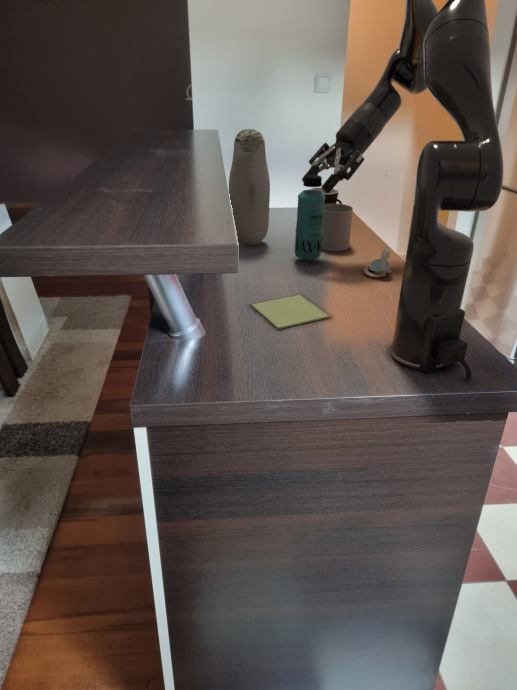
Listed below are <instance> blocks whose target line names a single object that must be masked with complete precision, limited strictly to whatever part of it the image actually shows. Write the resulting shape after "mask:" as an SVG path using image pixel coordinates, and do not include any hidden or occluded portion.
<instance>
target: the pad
mask: <svg viewBox="0 0 517 690" xmlns="http://www.w3.org/2000/svg"><path fill="white" fill-rule="evenodd" d="M251 308H253V309H254V310H256V311H257V312H258V313H259V314H260V315H261V316H262V317H263V318H264V319H265V320H267V321H268V322H269V323H270V324H272V325H273V327H275V328H276V329H277V330H282V329H287V328H290V327H294V326H299V325H303V324H308V323H313V322H317V321H321V320H326V319H329V318H330V315H329V314H327V313H326V312H325V311H323V310H322V309H320V308H319V307H318V306H317V305H315V304H314V303H312V302H311V301H309V300H307V298H305V297H303V296H302V295H301V294H298V295H294V296H293V295H291V296H287V297H283V298H282V297H281V298H278V299H272V300H267V301H261V302H258V303H253V304H251Z"/></svg>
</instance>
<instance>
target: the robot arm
mask: <svg viewBox="0 0 517 690" xmlns="http://www.w3.org/2000/svg"><path fill="white" fill-rule="evenodd" d="M404 2H405V4H404V21H403V26H402V31H401V34H400V40H399V43H398V48H397V49H395V50H394V51H393V52H392V53H391V55H390V56H389V59H388V60H387V64H386V65H385V67H384V71H383V73H382V75H381V76H380V78H379V80H378V82H377V84H376V85H375V87H374V88H373V90H372V91H371V92H370V93H369V95H368V96H367V97H366V98H365V100H364V101H362V103H361V104H360V105H359V106H357V108H355V110H354V111H353V112H352V113H351V115H349V117H348V118H347V119H346V121H345V122H344V123H343V124H342V126H341V127H340V128H339V129H338V131H337V132H336V133H335V142H334V143H333V144H331V146H330V145H329V144H328V143H327V142H324V143H323V144H322V145H321V146H320V147H319V149H318V150H316V152H315V153H314V154H313V156H312V157H310V159H309V160H308V163H309V165H310V168H309V169H308V170H307V172H306V173H305V174H304V175H303V177H301V181H302V182H304V177H305V176H306V175H318V176H319V173H321V172H322V171H324V170H329V169H331V168H332V169H333V173H331V174H330V175H329V177H328V178H327V179H326V180H325V181H324V183H322V186H321V188H322V189H323V190H324V191H325V192H326V193H329V192H330V191H331V190H332V189H335V187H336V186H337V185H338V183H339V182H342V181H344V180H346V181H349V180H350V179H351V178H352V177H353V175H355V173H356V172H357V170H358V169H359V168H360V167H361V166H362V164H363V163H364V161H365V157H364V156H363V155H364V154H365V152H366V151H367V150H368V148H370V146H371V145H372V144H373V143H374V142H375V140H376V139H377V138H378V137H379V135H381V133H382V131H383V130H384V128H385V127H386V125H387V124H388V123H389V121H390V120H391V119H392V118H393V117H394V116H395V114H396V113H397V112H398V111H399V109H400V108H401V106H402V104H403V103H402V101H403V100H402V97H401V95H400V93H399V91H398V90H397V89H396V88H395V87H394V85H393V83H395V84H396V85H398V86H399V87H401V88H402V89H404V90H405V91H406V92H408V93H409V94H411V95H420V94H422V93H424V92H425V91H426V90H427V89H428V91H429V92H430V94H431V96H432V97H433V98H434V100H435V101H436V102H437V103H438V105H439V106H440V107H441V108H442V110H444V111H445V112H446V114H447V115H448V116H449V117H450V118H451V119H452V121H453V122H454V123H455V125H456V127H457V128H458V130H459V132H460V134H461V137H462V140H447V139H445V140H443V139H442V140H437V139H436V140H431V141H430V140H429V141H428V142H427V143H426V144H425V145H423V148H422V149H421V151H420V154H419V157H418V160H417V165H416V171H415V180H414V190H413V200H412V209H411V210H412V211H411V216H410V217H411V218H410V225H409V230H408V231H409V233H408V241H407V246H406V254H405V261H404V267H403V273H402V279H401V286H400V291H399V299H398V305H397V309H396V310H397V311H396V316H395V324H394V329H393V330H394V331H393V337H392V342H391V343H392V344H391V345H390V355H391V357H392V359H394V360H395V361H396V362H397V363H399V364H401V365H403V366H406V367H408V368H411V369H416V370H419V371H421V372H423V373H425V374H426V373H430V372H432V371H433V372H434V371H436V370H440V369H443V368H446V367H449V366H450V367H451V366H453V365H454V364H456V363H460V364H461V366H462V367H463V368H464V370H465V379H466V380H467V381H470V380H471V379H472V369H471V366H470V365H469V364H468V362H467V361H466V360H465V358H466V354H467V351H468V350H467V349H468V346H469V343H468V342H466V341H464V340H462V339H461V338H460V337H461V334H462V330H463V326H464V325H463V324H464V321H465V316H466V311H465V310H464V309H462V304H463V300H464V299H463V298H464V295H465V289H466V284H467V280H468V276H469V272H470V267H471V264H472V263H471V262H472V259H473V254H474V248H475V243H474V240H473V239H472V238H470V237H469V235H466V234H465V233H463V232H460V231H458V230H455V229H452V228H450V227H448V226H446V225H445V224H443V223H442V222H440V220H439V212H464V213H465V212H466V213H467V212H468V213H472V212H485V211H488V210H490V209H492V208H493V207H495V205H496V203H497V202H498V200H499V198H500V196H501V192H502V189H503V183H504V155H503V149H502V148H503V147H502V143H501V137H500V131H499V128H498V127H499V126H498V122H497V116H496V112H495V106H494V100H493V97H494V96H493V88H492V87H493V86H492V72H491V71H492V69H491V68H492V66H491V45H490V34H489V33H490V32H489V25H488V17H487V16H488V15H487V8H486V7H487V6H486V0H447V1H446V2H445V3H444V5H443V6H442V7H441V8H440V10H438V8H437V6H436V4H435V3H434V1H433V0H405V1H404ZM348 169H350V170H349V171H348Z"/></svg>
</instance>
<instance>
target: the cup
mask: <svg viewBox="0 0 517 690" xmlns="http://www.w3.org/2000/svg"><path fill="white" fill-rule="evenodd" d="M353 209H354V208H353V206H351V205H347V204H344V203H342V204H340V203H336V204H324V218H323V221H324V222H323V231H322V238H323V239H322V248H321V250H323V251H327V252H328V251H329V252H342V251H343V252H344V251H346V250H348V249H350V243H351V242H350V241H351V231H352V221H353V211H354V210H353Z"/></svg>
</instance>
